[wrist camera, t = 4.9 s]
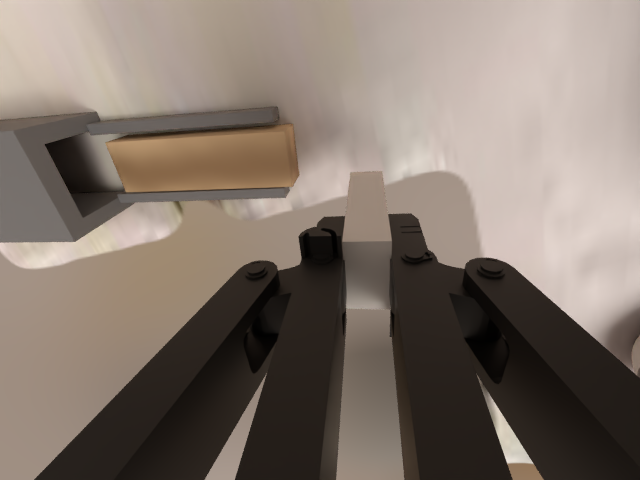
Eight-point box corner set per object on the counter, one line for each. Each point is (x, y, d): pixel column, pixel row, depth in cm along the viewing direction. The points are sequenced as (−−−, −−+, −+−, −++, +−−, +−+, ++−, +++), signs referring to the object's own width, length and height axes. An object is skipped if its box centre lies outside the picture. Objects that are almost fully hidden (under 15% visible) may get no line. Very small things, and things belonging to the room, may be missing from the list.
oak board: (131, 133, 26) (105, 142, 24) (293, 123, 24) (284, 131, 22) (148, 179, 28) (126, 192, 26) (300, 173, 26) (292, 186, 24)
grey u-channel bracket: (-6, 120, 27) (-111, 140, 21) (275, 96, 23) (242, 112, 17) (44, 206, 31) (-34, 242, 25) (290, 198, 27) (268, 240, 21)
